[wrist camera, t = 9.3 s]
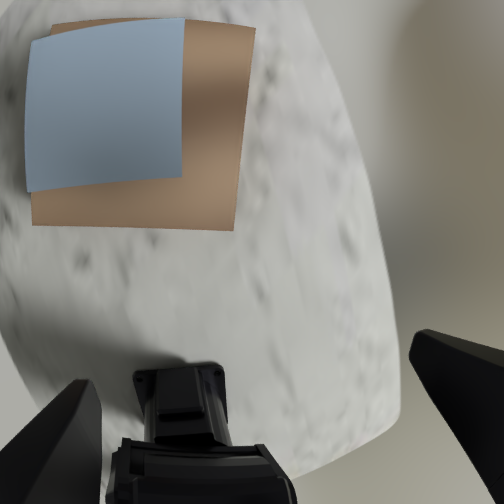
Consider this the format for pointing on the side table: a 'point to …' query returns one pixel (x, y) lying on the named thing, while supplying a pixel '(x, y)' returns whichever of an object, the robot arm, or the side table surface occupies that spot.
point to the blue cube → (105, 105)
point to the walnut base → (193, 145)
